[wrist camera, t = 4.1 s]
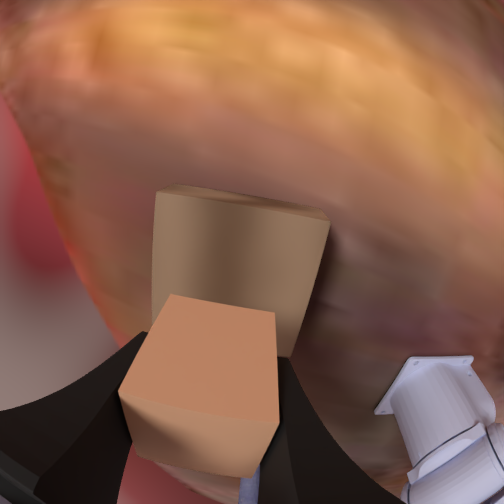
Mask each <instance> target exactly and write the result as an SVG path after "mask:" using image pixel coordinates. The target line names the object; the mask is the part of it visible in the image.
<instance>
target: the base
mask: <svg viewBox="0 0 504 504" xmlns="http://www.w3.org/2000/svg"><path fill="white" fill-rule="evenodd" d="M330 224H331V221H330V220H329V219H328V218H327V217H326V215H325V214H324V213H323V212H322V211H321V209H318V208H314V207H309V206H304V205H299V204H294V203H289V202H283V201H278V200H273V199H267V198H262V197H256V196H250V195H245V194H239V193H233V192H226V191H220V190H214V189H207V188H200V187H194V186H187V185H179V184H172V185H170V186H168V187H166V188H164V189H161V190H159V191H157V192H156V201H155V214H154V230H153V252H152V326H153V324H154V322H155V320H156V319H157V317H158V315H159V313H160V311H161V310H162V308H163V306H164V304H165V303H166V301H167V299H168V297H169V296H170V294H174V295H178V296H183V297H188V298H194V299H199V300H204V301H209V302H215V303H220V304H226V305H231V306H237V307H243V308H249V309H255V310H262V311H268V312H274V313H275V326H276V347H277V356H284V357H291V354H292V352H293V349H294V346H295V343H296V340H297V337H298V334H299V331H300V328H301V325H302V321H303V318H304V315H305V312H306V309H307V306H308V302H309V299H310V296H311V293H312V289H313V286H314V282H315V279H316V276H317V272H318V269H319V265H320V261H321V258H322V254H323V250H324V247H325V243H326V239H327V235H328V232H329V228H330Z"/></svg>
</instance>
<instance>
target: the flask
mask: <svg viewBox="0 0 504 504" xmlns="http://www.w3.org/2000/svg"><path fill="white" fill-rule="evenodd" d="M259 478H260V464H259V465H258V467H257V469H256V471H255V473H254V475H253V477H252V479H251V478H241V482H240V492H239V502H238V504H257V502H258V491H259Z"/></svg>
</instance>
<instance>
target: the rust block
mask: <svg viewBox="0 0 504 504" xmlns="http://www.w3.org/2000/svg"><path fill="white" fill-rule="evenodd" d="M118 392H119V396H120V400H121V404H122V408H123V412H124V415H125V419H126V422H127V425H128V429H129V432H130V435H131V438H132V441H133V444H134V447H135V450H136V453H137V456H139V457H142V458H145V459H149V460H152V461H156V462H159V463H163V464H167V465H171V466H176V467H180V468H184V469H189V470H194V471H199V472H205V473H211V474H217V475H224V476H232V477H241V478H251V479H252V477H253V475H254V473H255V471H256V469H257V467H258V465H259V464H260V462H261V460H262V458H263V456H264V454H265V452H266V450H267V448H268V446H269V444H270V442H271V440H272V438H273V435H274V433H275V431H276V429H277V427H278V425H279V396H278V370H277V347H276V326H275V313H274V312H268V311H262V310H255V309H249V308H243V307H237V306H231V305H226V304H220V303H215V302H209V301H204V300H199V299H194V298H188V297H183V296H178V295H174V294H170V296H169V297H168V299H167V301H166V303H165V304H164V306H163V308H162V310H161V311H160V313H159V315H158V317H157V319H156V320H155V322H154V324H153V326H152V328H151V329H150V331H149V333H148V335H147V337H146V339H145V340H144V342H143V344H142V346H141V348H140V350H139V351H138V353H137V355H136V357H135V359H134V361H133V363H132V365H131V367H130V368H129V370H128V372H127V374H126V376H125V378H124V380H123V382H122V384H121V386H120V388H119V390H118Z"/></svg>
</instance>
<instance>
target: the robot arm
mask: <svg viewBox="0 0 504 504" xmlns="http://www.w3.org/2000/svg"><path fill="white" fill-rule="evenodd" d="M147 335H148V333H147V332H144V331H142V332H141V333H139V334H138V335H137V336H136V337H134V338H133V339H132V340H131V341H130V342H128V343H127V344H126V345H125V346H124V347H122V348H121V349H120V350H119V351H118V352H116V353H115V354H114V355H112V356H111V357H110V358H108V359H107V360H106V361H105V362H103V363H102V364H101V365H99V366H98V367H97V368H95V369H94V370H92V371H90V372H89V373H88V374H86V375H85V376H83V377H82V378H80V379H78V380H77V381H75V382H73V383H72V384H70V385H68V386H66V387H65V388H63V389H61V390H59V391H57V392H55V393H53V394H51V395H48V396H46V397H44V398H42V399H39V400H37V401H34V402H31V403H28V404H25V405H22V406H19V407H15V408H12V409H8V410H3V411H0V504H117V499H118V494H119V489H120V484H121V480H122V476H123V472H124V468H125V465H126V461H127V457H128V454H129V450H130V447H131V445H132V442H133V441H132V438H131V435H130V432H129V429H128V425H127V422H126V419H125V415H124V412H123V408H122V404H121V400H120V396H119V392H118V390H119V388H120V386H121V384H122V382H123V380H124V378H125V376H126V374H127V372H128V370H129V368H130V367H131V365H132V363H133V361H134V359H135V357H136V355H137V353H138V351H139V350H140V348H141V346H142V344H143V342H144V340H145V339H146V337H147ZM473 359H474V358H473V356H471V355H470V356H442V357H410V358H409V359H408V360H407V361H406V363H405V364H404V366H403V368H402V369H401V371H400V373H399V374H398V376H397V377H396V379H395V381H394V382H393V384H392V385H391V387H390V388H389V390H388V391H387V393H386V394H385V396H384V397H383V399H382V400H381V402H380V403H379V404H378V406H377V407H376V409H375V410H374V413H375V414H376V415H382V414H394V415H395V418H396V420H397V423H398V426H399V429H400V431H401V434H402V437H403V440H404V443H405V446H406V449H407V452H408V455H409V458H410V461H411V464H412V467H413V469H412V470H411V471H409V472H408V473H407V476H408V479H409V481H408V482H407V483H406V484H405V485H404V487H403V489H402V493H401V496H400V499H399V498H397V497H396V496H394V495H393V494H391V493H390V492H388V491H387V490H385V489H384V488H382V487H381V486H380V485H379V484H377V483H376V482H375V481H374V480H373V479H371V478H370V477H369V476H368V475H367V474H366V473H365V472H364V471H363V470H362V469H361V468H360V467H358V466H357V465H356V464H355V463H354V462H353V461H352V460H351V459H350V458H349V456H348V455H347V454H346V453H345V452H344V451H343V450H342V448H341V447H340V446H339V445H338V444H337V442H336V441H335V440H334V439H333V437H332V436H331V435H330V433H329V432H328V431H327V429H326V428H325V426H324V425H323V423H322V422H321V420H320V419H319V417H318V416H317V414H316V412H315V411H314V409H313V407H312V406H311V404H310V402H309V400H308V398H307V397H306V395H305V393H304V391H303V389H302V387H301V385H300V383H299V381H298V379H297V377H296V374H295V372H294V370H293V368H292V365H291V363H290V361H289V359H288V358H283V357H277V370H278V396H279V425H278V427H277V429H276V431H275V433H274V435H273V438H272V440H271V442H270V444H269V446H268V448H267V450H266V452H265V454H264V456H263V458H262V460H261V462H260V478H259V491H258V502H257V504H480V503H481V502H483V501H484V502H483V503H481V504H504V426H503V425H502V424H501V423H494V422H495V414H496V412H495V404H494V401H493V399H492V397H491V396H490V394H489V393H488V391H487V390H486V388H485V387H484V385H483V384H482V382H481V381H480V379H479V378H478V376H477V375H476V373H475V372H474V370H473V369H472V367H471V366H470V364H471V363H472V361H473ZM502 488H503V489H502ZM500 489H502V490H501V491H499V490H500ZM498 491H499V492H498ZM497 492H498V493H497ZM495 493H496V494H495ZM494 494H495V495H494ZM492 495H494V496H492ZM491 496H492V497H491ZM489 497H491V498H489ZM488 498H489V499H488ZM486 499H488V500H486ZM485 500H486V501H485Z"/></svg>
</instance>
